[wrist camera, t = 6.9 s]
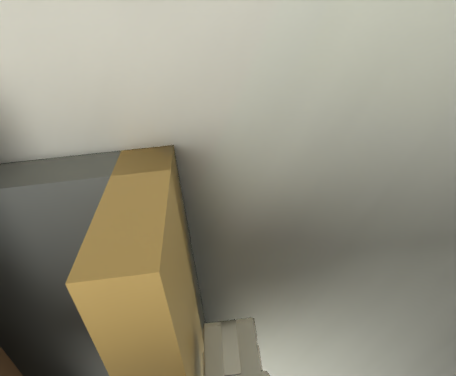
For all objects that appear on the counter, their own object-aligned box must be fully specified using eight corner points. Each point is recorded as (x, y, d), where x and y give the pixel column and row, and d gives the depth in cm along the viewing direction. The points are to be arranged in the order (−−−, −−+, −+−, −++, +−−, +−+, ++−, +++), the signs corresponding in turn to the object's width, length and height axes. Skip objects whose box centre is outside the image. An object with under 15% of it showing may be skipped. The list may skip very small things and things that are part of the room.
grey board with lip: (173, 145, 10) (159, 272, 5) (210, 349, 15) (217, 495, 11) (-225, 188, 9) (-582, 364, 5) (-43, 383, 14) (-139, 549, 10)
